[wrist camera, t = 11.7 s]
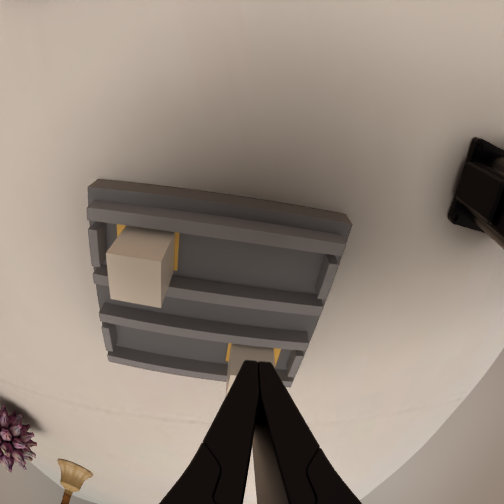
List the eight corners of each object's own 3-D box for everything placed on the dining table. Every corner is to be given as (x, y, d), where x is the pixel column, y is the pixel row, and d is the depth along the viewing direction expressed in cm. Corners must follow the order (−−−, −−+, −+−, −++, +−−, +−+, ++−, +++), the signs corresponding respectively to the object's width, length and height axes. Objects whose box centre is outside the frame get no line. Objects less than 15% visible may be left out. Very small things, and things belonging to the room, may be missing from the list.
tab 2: (273, 342, 23) (275, 379, 20) (265, 367, 24) (266, 402, 21) (232, 337, 23) (230, 374, 20) (227, 363, 24) (225, 399, 21)
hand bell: (83, 476, 51) (70, 531, 37) (52, 459, 47) (36, 516, 34) (99, 474, 48) (85, 536, 34) (66, 457, 45) (48, 521, 31)
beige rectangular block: (175, 230, 18) (161, 261, 15) (173, 272, 20) (161, 307, 17) (127, 223, 18) (105, 252, 15) (129, 265, 20) (110, 298, 16)
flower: (58, 435, 39) (40, 492, 28) (17, 426, 40) (-2, 474, 29) (16, 394, 33) (-12, 456, 23) (-21, 386, 34) (-47, 438, 24)
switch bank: (345, 214, 20) (358, 233, 17) (291, 368, 27) (293, 393, 25) (97, 179, 18) (78, 194, 16) (113, 343, 26) (104, 365, 23)
